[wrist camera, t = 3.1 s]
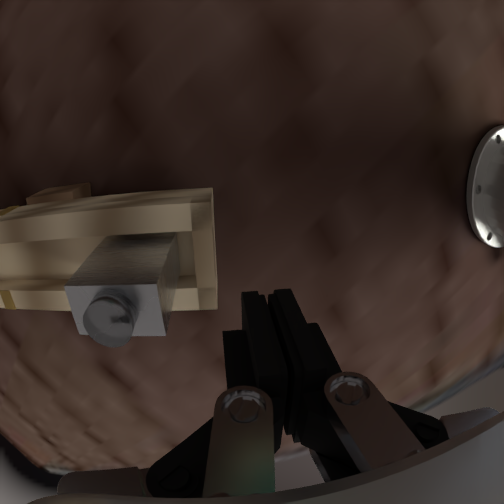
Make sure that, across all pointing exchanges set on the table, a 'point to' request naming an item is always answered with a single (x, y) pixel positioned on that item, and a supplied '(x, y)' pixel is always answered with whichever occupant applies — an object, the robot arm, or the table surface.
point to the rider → (126, 287)
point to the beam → (91, 235)
